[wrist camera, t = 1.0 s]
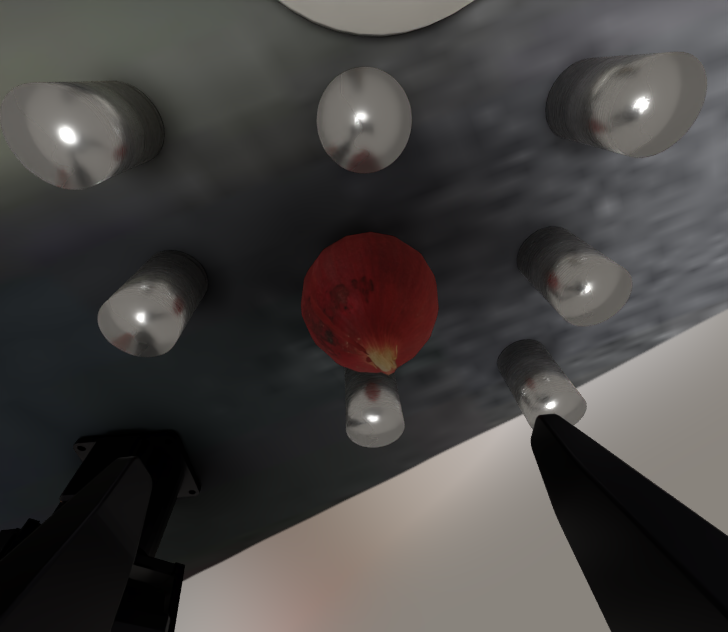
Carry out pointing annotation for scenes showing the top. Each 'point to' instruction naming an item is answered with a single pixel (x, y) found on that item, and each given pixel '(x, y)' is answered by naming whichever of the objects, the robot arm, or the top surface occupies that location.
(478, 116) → the top surface
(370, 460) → the top surface
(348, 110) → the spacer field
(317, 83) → the top surface
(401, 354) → the onion
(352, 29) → the plate
